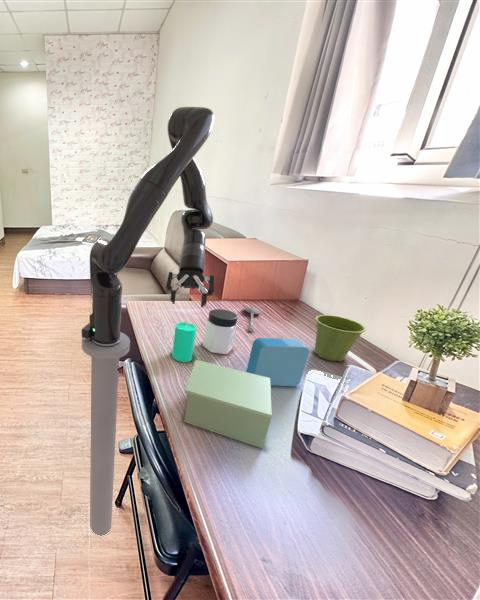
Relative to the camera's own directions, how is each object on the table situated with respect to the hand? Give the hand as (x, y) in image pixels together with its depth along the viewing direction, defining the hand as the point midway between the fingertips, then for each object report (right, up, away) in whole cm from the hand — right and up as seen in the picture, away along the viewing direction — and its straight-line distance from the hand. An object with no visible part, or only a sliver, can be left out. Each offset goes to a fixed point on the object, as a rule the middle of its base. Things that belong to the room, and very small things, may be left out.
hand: (187, 304), depth 96 cm
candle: (-2, -16, 0) cm, 16 cm away
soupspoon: (+33, -7, +23) cm, 41 cm away
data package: (+19, -21, -12) cm, 30 cm away
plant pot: (+44, -16, 0) cm, 47 cm away
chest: (0, -25, -24) cm, 35 cm away
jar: (+11, -14, +5) cm, 19 cm away
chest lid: (0, -18, -26) cm, 32 cm away
